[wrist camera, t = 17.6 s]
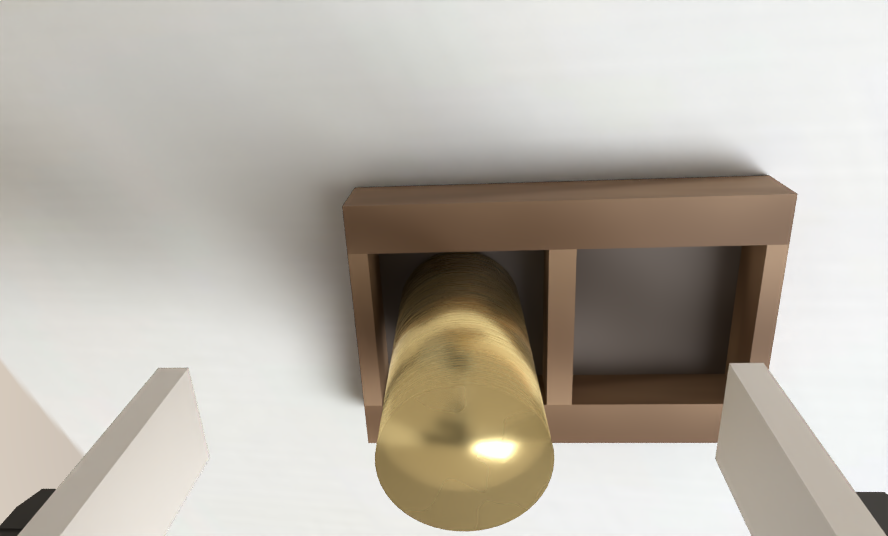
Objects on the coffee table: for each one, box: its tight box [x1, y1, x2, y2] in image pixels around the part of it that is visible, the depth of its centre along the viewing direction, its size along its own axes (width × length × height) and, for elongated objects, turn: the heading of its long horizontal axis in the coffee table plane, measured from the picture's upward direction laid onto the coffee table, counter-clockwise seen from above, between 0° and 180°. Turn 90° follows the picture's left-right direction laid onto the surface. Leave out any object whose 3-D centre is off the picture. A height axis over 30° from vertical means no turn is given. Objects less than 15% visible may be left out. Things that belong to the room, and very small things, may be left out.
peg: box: [375, 252, 554, 531], centre depth 18 cm, size 4×4×8 cm
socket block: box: [342, 175, 797, 443], centre depth 21 cm, size 8×13×2 cm, turn 93°
